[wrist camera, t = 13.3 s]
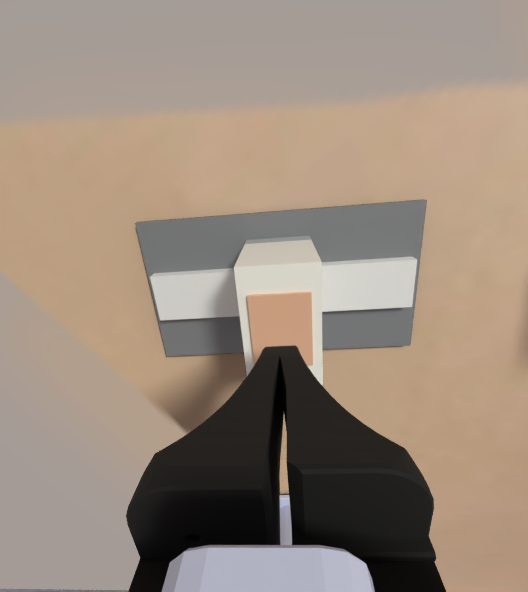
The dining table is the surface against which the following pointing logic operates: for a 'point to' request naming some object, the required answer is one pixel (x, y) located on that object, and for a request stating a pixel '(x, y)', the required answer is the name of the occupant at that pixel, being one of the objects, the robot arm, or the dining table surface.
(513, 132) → the dining table surface
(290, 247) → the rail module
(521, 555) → the dining table surface
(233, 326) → the din rail
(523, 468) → the dining table surface
